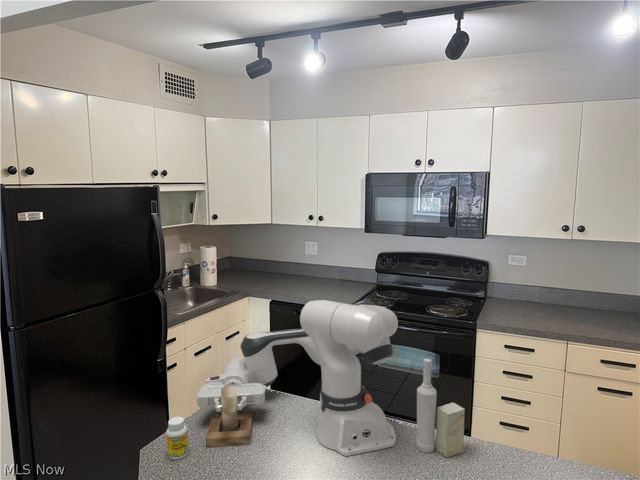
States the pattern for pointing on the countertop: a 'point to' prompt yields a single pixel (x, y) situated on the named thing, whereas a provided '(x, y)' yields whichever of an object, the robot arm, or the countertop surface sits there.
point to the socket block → (229, 432)
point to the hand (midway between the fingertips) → (229, 408)
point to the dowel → (229, 408)
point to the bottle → (426, 411)
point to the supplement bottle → (177, 438)
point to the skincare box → (450, 429)
